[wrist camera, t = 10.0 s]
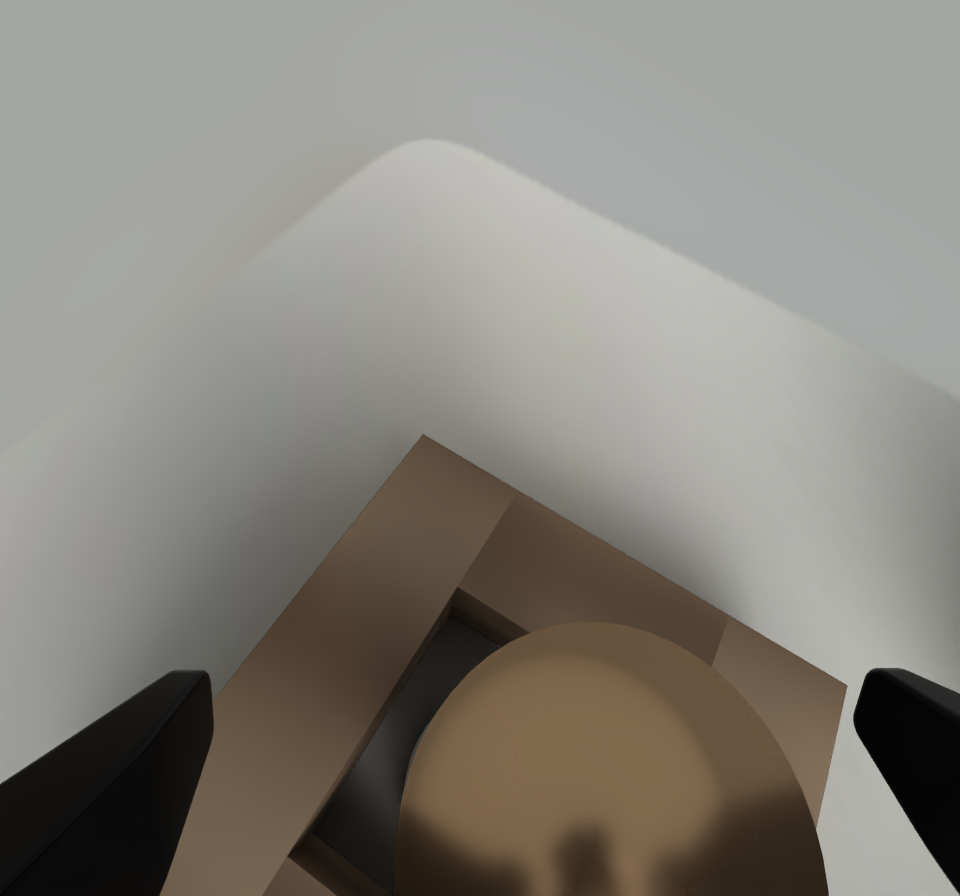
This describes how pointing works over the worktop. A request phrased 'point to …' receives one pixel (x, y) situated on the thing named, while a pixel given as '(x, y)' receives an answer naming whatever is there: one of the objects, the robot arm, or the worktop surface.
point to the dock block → (401, 645)
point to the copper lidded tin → (601, 779)
